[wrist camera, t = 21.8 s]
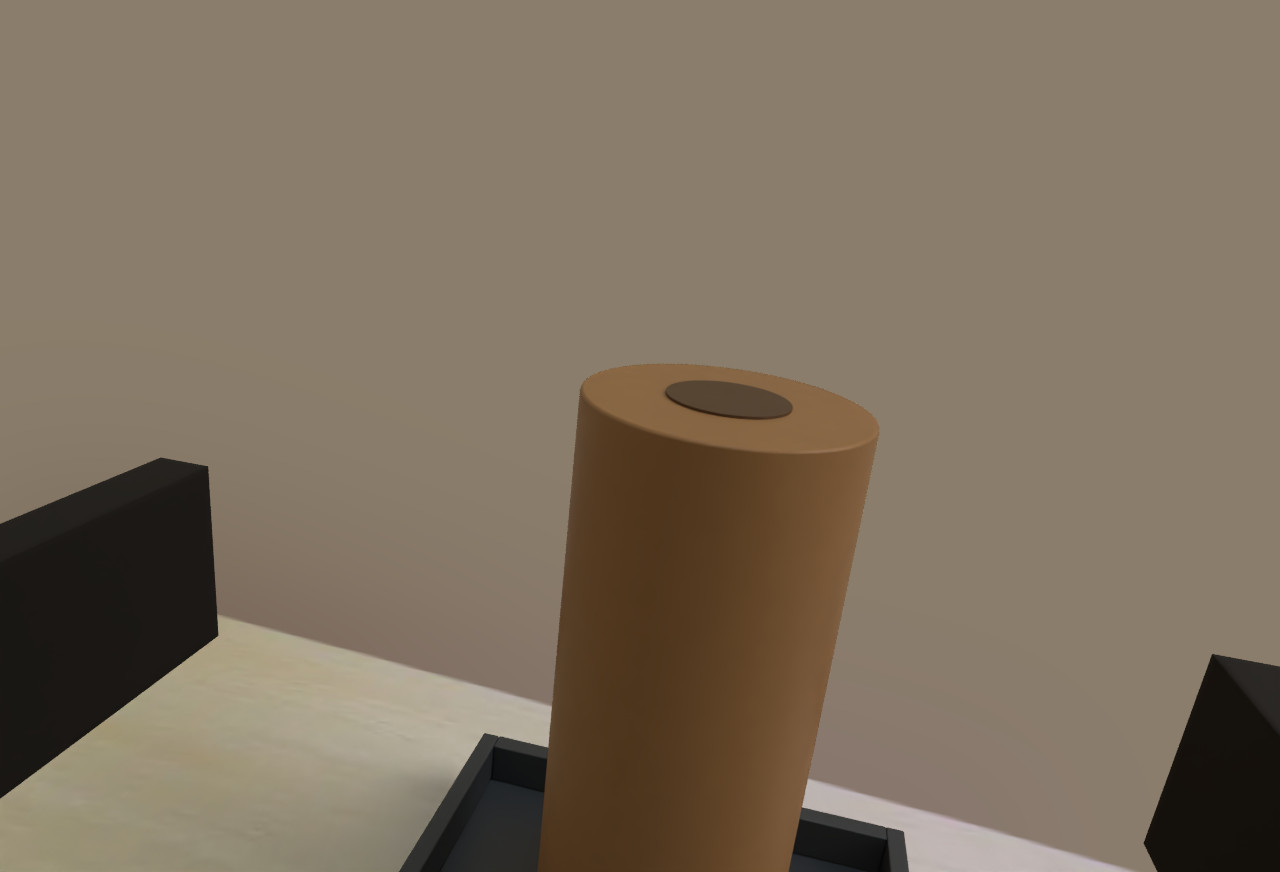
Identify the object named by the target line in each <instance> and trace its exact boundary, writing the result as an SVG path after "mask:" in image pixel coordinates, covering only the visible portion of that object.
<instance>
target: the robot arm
mask: <svg viewBox="0 0 1280 872" xmlns="http://www.w3.org/2000/svg"><path fill="white" fill-rule="evenodd" d="M217 636H218V621H217V605H216V588H215V572H214V555H213V539H212V523H211V506H210V490H209V474H208V466H203V465H198V464H192V463H187V462H181V461H176V460H171V459H165V458H159V459H156V460H154V461H151V462H149V463H147V464H144V465H142V466H139V467H137V468H134V469H132V470H130V471H127V472H125V473H122V474H120V475H117V476H115V477H113V478H110V479H108V480H106V481H103V482H101V483H98V484H96V485H93V486H91V487H89V488H86V489H84V490H81V491H79V492H76V493H74V494H71V495H69V496H67V497H65V498H62V499H59V500H57V501H55V502H52V503H50V504H47V505H45V506H43V507H40V508H38V509H35V510H33V511H30V512H28V513H26V514H23V515H21V516H18V517H16V518H14V519H11V520H9V521H6V522H4V523H2V524H0V798H2V797H3V796H4V795H6V794H7V793H8V792H10V791H11V790H12V789H14V788H15V787H16V786H18V785H19V784H20V783H22V782H23V781H24V780H26V779H27V778H28V777H30V776H31V775H33V774H34V773H35V772H37V771H38V770H39V769H41V768H42V767H43V766H45V765H46V764H47V763H49V762H50V761H51V760H53V759H54V758H55V757H57V756H58V755H59V754H61V753H62V752H63V751H65V750H66V749H67V748H69V747H70V746H71V745H73V744H74V743H75V742H77V741H78V740H79V739H81V738H82V737H83V736H85V735H86V734H87V733H89V732H90V731H91V730H93V729H94V728H95V727H97V726H98V725H99V724H101V723H102V722H103V721H105V720H106V719H107V718H109V717H110V716H112V715H113V714H114V713H116V712H117V711H118V710H120V709H121V708H122V707H124V706H125V705H126V704H128V703H129V702H130V701H132V700H133V699H134V698H136V697H137V696H138V695H140V694H141V693H142V692H144V691H145V690H146V689H148V688H149V687H150V686H152V685H153V684H154V683H156V682H157V681H158V680H160V679H161V678H162V677H164V676H165V675H166V674H168V673H169V672H170V671H172V670H173V669H174V668H176V667H177V666H178V665H180V664H181V663H182V662H184V661H185V660H186V659H188V658H189V657H191V656H192V655H193V654H195V653H196V652H197V651H199V650H200V649H201V648H203V647H204V646H205V645H207V644H208V643H209V642H211V641H212V640H213V639H215V638H216V637H217ZM1144 845H1145V847H1146V849H1147V851H1148V853H1149V855H1150V857H1151V859H1152V861H1153V863H1154V865H1155V868H1156V870H1157V872H1280V667H1279V666H1273V665H1268V664H1263V663H1257V662H1252V661H1247V660H1241V659H1236V658H1231V657H1225V656H1220V655H1215V654H1212V656H1211V659H1210V662H1209V665H1208V667H1207V670H1206V673H1205V676H1204V678H1203V681H1202V684H1201V687H1200V689H1199V692H1198V695H1197V698H1196V700H1195V703H1194V706H1193V709H1192V711H1191V714H1190V717H1189V720H1188V723H1187V725H1186V728H1185V731H1184V733H1183V736H1182V739H1181V742H1180V744H1179V747H1178V750H1177V753H1176V755H1175V758H1174V761H1173V764H1172V767H1171V770H1170V772H1169V775H1168V777H1167V780H1166V783H1165V786H1164V789H1163V791H1162V794H1161V797H1160V800H1159V802H1158V805H1157V808H1156V811H1155V813H1154V816H1153V819H1152V822H1151V824H1150V827H1149V830H1148V833H1147V835H1146V838H1145V841H1144Z"/></svg>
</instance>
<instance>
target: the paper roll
mask: <svg viewBox="0 0 1280 872" xmlns="http://www.w3.org/2000/svg"><path fill="white" fill-rule="evenodd" d="M579 397H580V398H579V408H578V420H577V430H576V442H575V453H574V464H573V476H572V487H571V499H570V509H569V521H568V532H567V544H566V555H565V566H564V577H563V589H562V600H561V611H560V623H559V634H558V645H557V656H556V669H555V679H554V690H553V691H554V692H553V702H552V713H551V724H550V736H549V747H548V758H547V770H546V781H545V792H544V803H543V815H542V826H541V837H540V849H539V860H538V871H537V872H789V867H790V862H791V857H792V852H793V848H794V843H795V838H796V833H797V828H798V823H799V819H800V814H801V809H802V804H803V799H804V794H805V789H806V785H807V780H808V775H809V770H810V765H811V760H812V756H813V751H814V746H815V741H816V736H817V731H818V727H819V721H820V717H821V712H822V707H823V702H824V697H825V693H826V687H827V683H828V678H829V673H830V668H831V663H832V659H833V654H834V649H835V644H836V639H837V635H838V630H839V625H840V620H841V615H842V610H843V606H844V601H845V596H846V591H847V586H848V581H849V576H850V571H851V567H852V562H853V557H854V552H855V547H856V542H857V537H858V533H859V528H860V523H861V518H862V514H863V509H864V504H865V499H866V494H867V489H868V485H869V479H870V475H871V470H872V465H873V460H874V455H875V451H876V445H877V441H878V436H879V425H878V423H877V421H876V419H875V418H874V417H873V416H872V414H870V413H869V412H868V411H867V410H865V409H864V408H862V407H861V406H859V405H858V404H856V403H854V402H852V401H850V400H848V399H846V398H844V397H841V396H839V395H837V394H834V393H832V392H829V391H826V390H824V389H821V388H818V387H815V386H811V385H808V384H805V383H801V382H798V381H794V380H790V379H785V378H781V377H777V376H772V375H767V374H762V373H757V372H751V371H744V370H738V369H731V368H723V367H714V366H703V365H689V364H644V365H632V366H623V367H618V368H613V369H608V370H605V371H601V372H599V373H596V374H594V375H592V376H590V377H589V378H587V379H586V380H585V381H584V382H583V384H582V386H581V389H580V396H579Z"/></svg>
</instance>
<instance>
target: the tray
mask: <svg viewBox="0 0 1280 872" xmlns="http://www.w3.org/2000/svg"><path fill="white" fill-rule="evenodd" d="M547 758H548V748H547V747H543V746H538V745H534V744H530V743H526V742H521V741H517V740H513V739H509V738H504V737H498V736H495V735H491V734H486V733H485V734H484V735H483V736H482V738H481V740H480V741H479V743H478V745H477V746H476V748H475V749H474V751H473V753H472V754H471V756H470V757H469V759H468V761H467V762H466V764H465V766H464V767H463V769H462V770H461V772H460V774H459V775H458V777H457V779H456V780H455V782H454V783H453V785H452V787H451V788H450V790H449V792H448V793H447V795H446V796H445V798H444V800H443V801H442V803H441V805H440V806H439V808H438V809H437V811H436V813H435V814H434V816H433V818H432V819H431V821H430V822H429V824H428V826H427V827H426V829H425V831H424V832H423V834H422V835H421V837H420V839H419V840H418V842H417V844H416V845H415V847H414V848H413V850H412V852H411V853H410V855H409V856H408V858H407V860H406V861H405V863H404V865H403V866H402V868H401V869H400V871H399V872H537V871H538V860H539V849H540V837H541V826H542V815H543V803H544V792H545V781H546V770H547ZM789 872H909V869H908V861H907V853H906V845H905V837H904V832H903V831H900V830H896V829H891V828H885V827H883V826H878V825H874V824H870V823H866V822H861V821H857V820H853V819H849V818H844V817H840V816H836V815H832V814H827V813H823V812H819V811H815V810H810V809H806V808H802V809H801V814H800V819H799V823H798V828H797V833H796V838H795V843H794V848H793V852H792V857H791V862H790V867H789Z"/></svg>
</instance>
